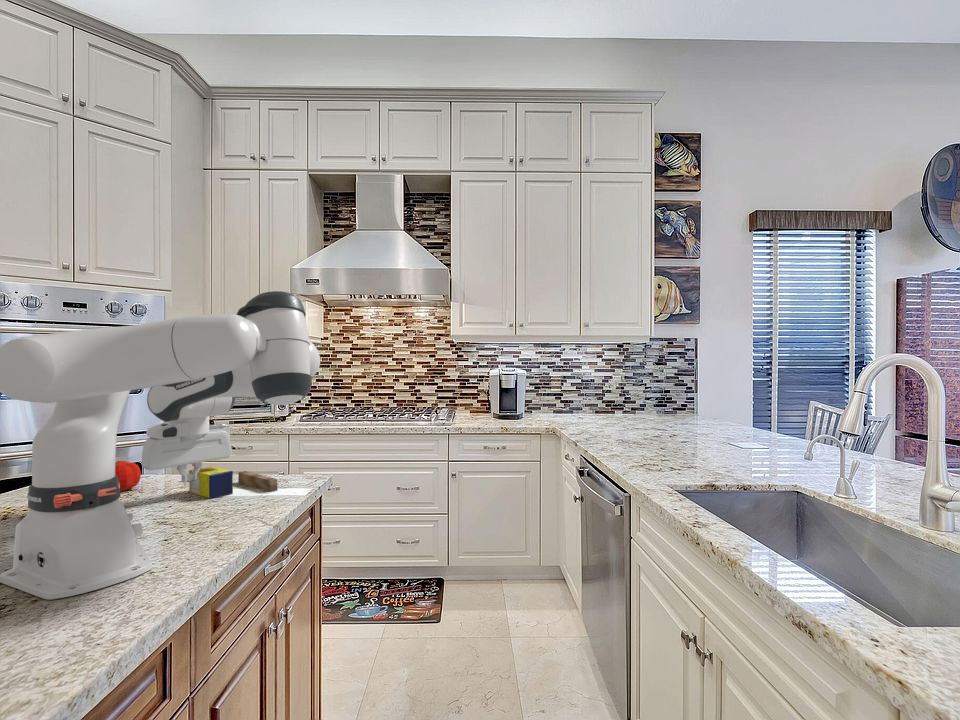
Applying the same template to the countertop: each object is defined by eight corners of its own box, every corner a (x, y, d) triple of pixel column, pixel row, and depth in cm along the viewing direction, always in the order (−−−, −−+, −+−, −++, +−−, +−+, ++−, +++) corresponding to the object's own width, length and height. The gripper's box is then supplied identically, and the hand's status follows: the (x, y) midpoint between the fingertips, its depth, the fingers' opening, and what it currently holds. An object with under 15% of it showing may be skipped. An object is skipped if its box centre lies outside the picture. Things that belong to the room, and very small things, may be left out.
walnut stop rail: (277, 490, 132) (277, 479, 132) (270, 491, 130) (270, 480, 130) (245, 481, 141) (245, 471, 141) (238, 482, 139) (238, 472, 139)
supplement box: (233, 470, 128) (211, 465, 134) (210, 475, 123) (188, 469, 129) (233, 493, 128) (210, 487, 134) (210, 499, 123) (188, 492, 129)
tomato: (88, 490, 131) (88, 462, 131) (137, 483, 138) (137, 457, 138) (92, 498, 123) (92, 469, 123) (144, 491, 130) (144, 463, 130)
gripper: (224, 421, 135) (224, 472, 135) (138, 430, 118) (138, 487, 118) (236, 423, 131) (236, 475, 131) (150, 432, 114) (149, 492, 114)
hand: (189, 481), depth 124 cm, fingers closed
